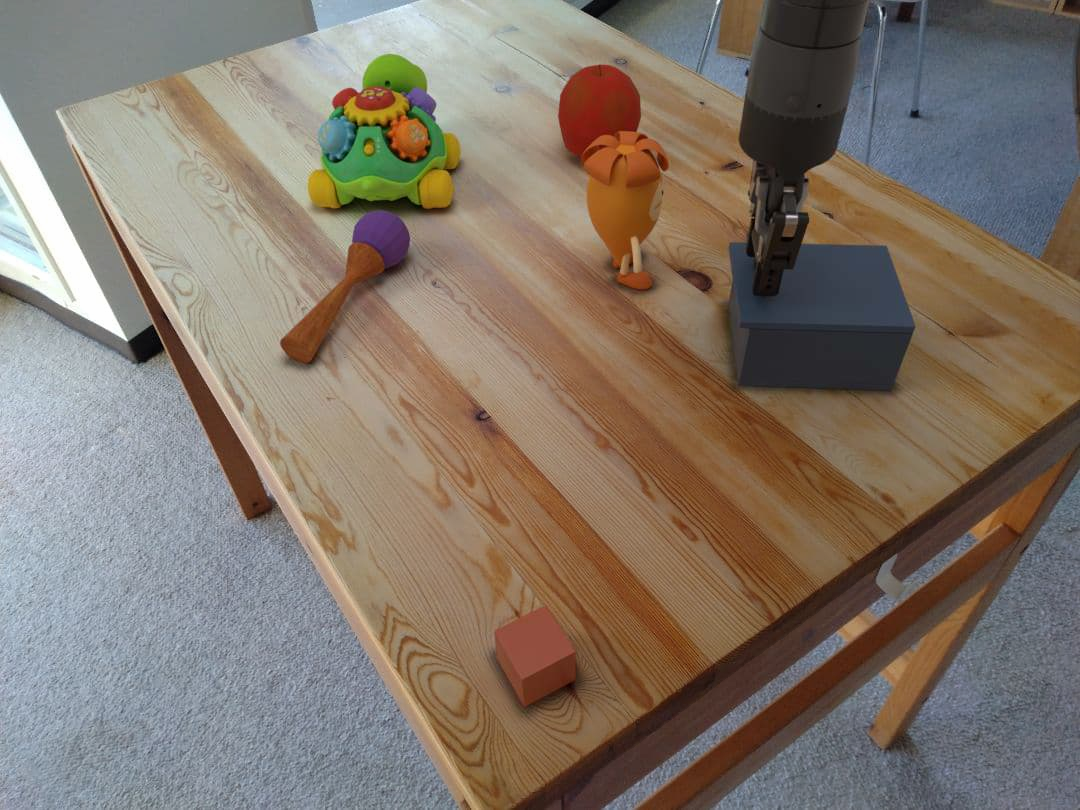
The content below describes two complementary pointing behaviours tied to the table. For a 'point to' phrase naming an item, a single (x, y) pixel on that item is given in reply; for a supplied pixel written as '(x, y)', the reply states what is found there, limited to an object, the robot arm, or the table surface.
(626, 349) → the table surface
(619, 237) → the toy figure
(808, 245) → the lid
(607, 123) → the apple
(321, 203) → the turtle toy
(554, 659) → the block
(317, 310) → the purple toy maraca
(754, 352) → the dark blue box
